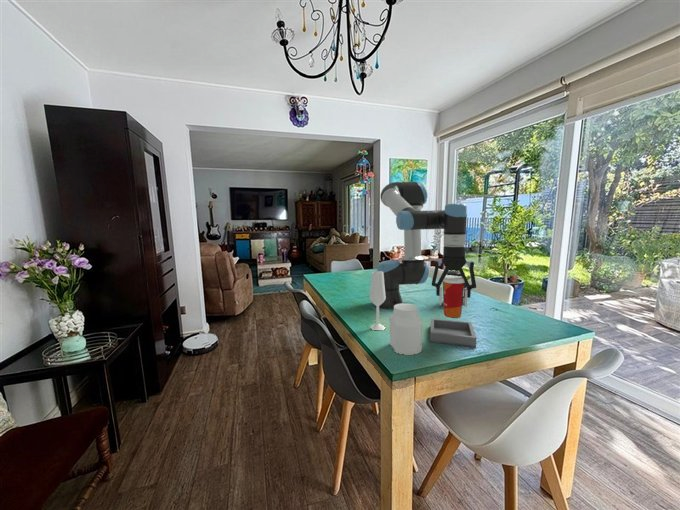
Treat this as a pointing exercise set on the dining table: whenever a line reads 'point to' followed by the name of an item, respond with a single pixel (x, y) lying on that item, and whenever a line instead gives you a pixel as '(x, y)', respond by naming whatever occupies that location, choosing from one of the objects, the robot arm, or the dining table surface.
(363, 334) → the dining table surface
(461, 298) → the coffee cup
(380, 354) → the dining table surface
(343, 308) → the dining table surface
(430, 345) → the dining table surface
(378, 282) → the champagne flute
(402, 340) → the jar
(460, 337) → the bin
